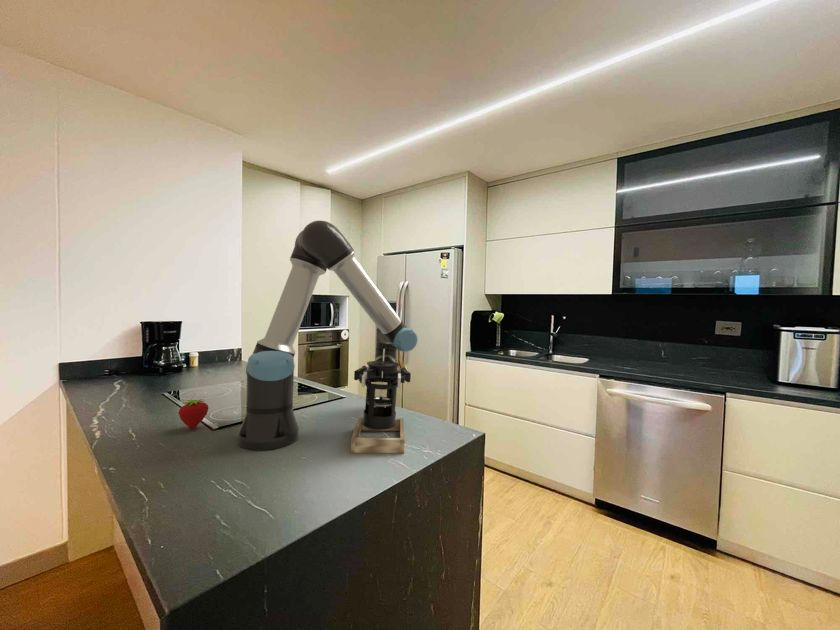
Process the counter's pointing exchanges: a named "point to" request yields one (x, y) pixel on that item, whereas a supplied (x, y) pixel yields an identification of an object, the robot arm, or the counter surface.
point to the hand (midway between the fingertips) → (381, 382)
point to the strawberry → (193, 412)
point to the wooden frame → (378, 440)
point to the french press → (381, 408)
